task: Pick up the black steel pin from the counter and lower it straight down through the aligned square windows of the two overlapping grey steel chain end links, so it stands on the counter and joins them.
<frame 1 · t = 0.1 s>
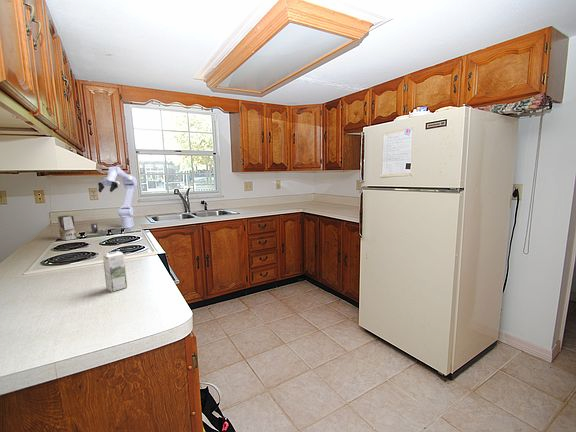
hand: (105, 191, 207), 32 cm above the worktop, tool tilted 50°, fingers open, 7 cm apart
coffee box: (68, 239, 202), on the worktop
upper end link: (112, 232, 222), on the worktop
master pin: (95, 232, 221), on the worktop
lower end link: (112, 232, 222), on the worktop
syrup box: (117, 288, 115), on the worktop
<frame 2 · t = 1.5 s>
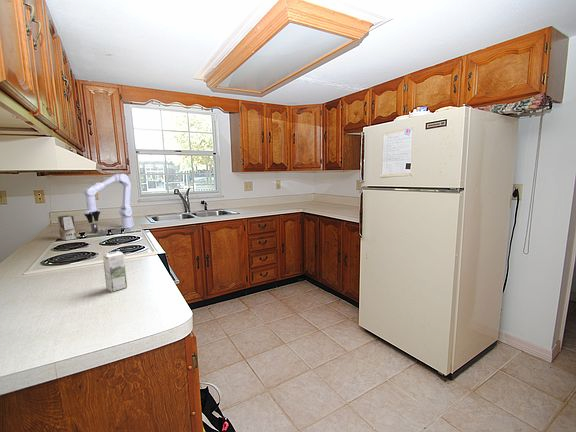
hand: (93, 221, 219), 8 cm above the worktop, tool pointing down, fingers open, 7 cm apart
nothing on the worktop moved.
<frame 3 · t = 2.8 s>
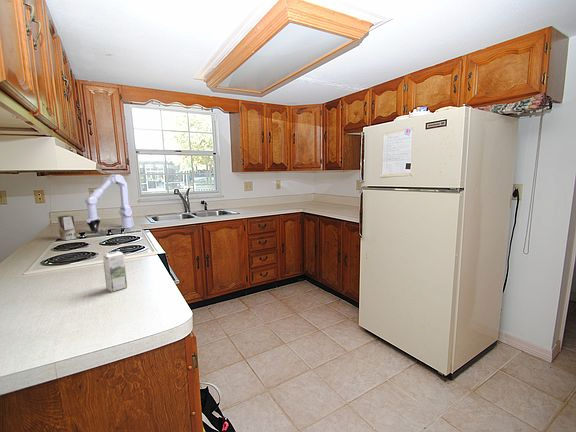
hand: (94, 230, 220), 2 cm above the worktop, tool pointing down, fingers closed on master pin, 4 cm apart
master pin: (95, 232, 221), on the worktop, touching gripper
everything else where it was.
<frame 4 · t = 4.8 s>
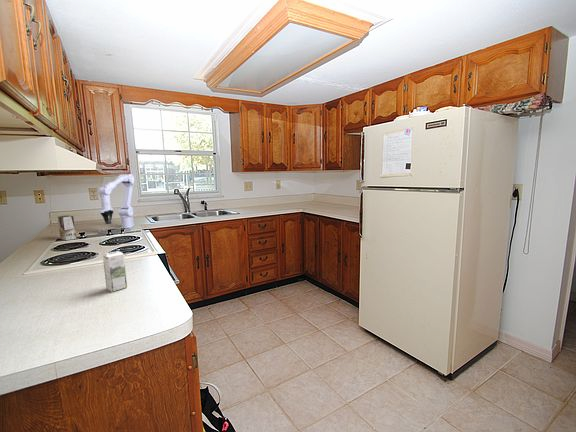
hand: (108, 220, 220), 9 cm above the worktop, tool pointing down, fingers closed on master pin, 4 cm apart
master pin: (108, 223, 221), point 7 cm above the worktop, touching gripper
everything else where it was.
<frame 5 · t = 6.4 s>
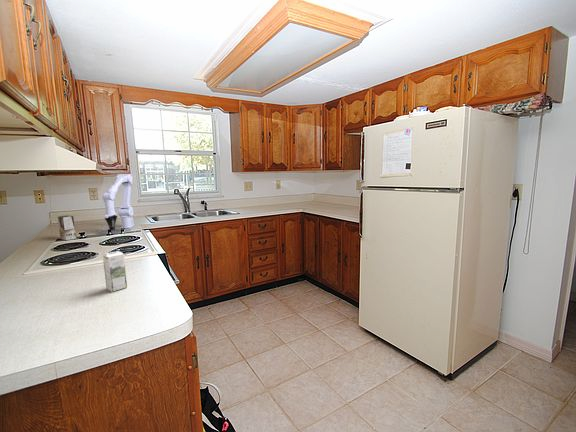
hand: (112, 225, 221), 5 cm above the worktop, tool pointing down, fingers closed on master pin, 4 cm apart
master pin: (112, 228, 221), point 3 cm above the worktop, touching gripper
everything else where it was.
when the fingers open (3 cm above the worktop, at t = 7.2 s): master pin drops 1 cm, resting in upper end link.
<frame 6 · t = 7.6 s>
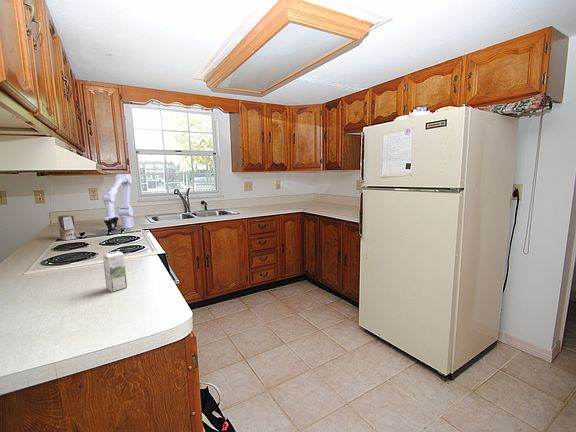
hand: (112, 228, 221), 3 cm above the worktop, tool pointing down, fingers open, 7 cm apart
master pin: (112, 232, 222), resting in upper end link
everything else where it was.
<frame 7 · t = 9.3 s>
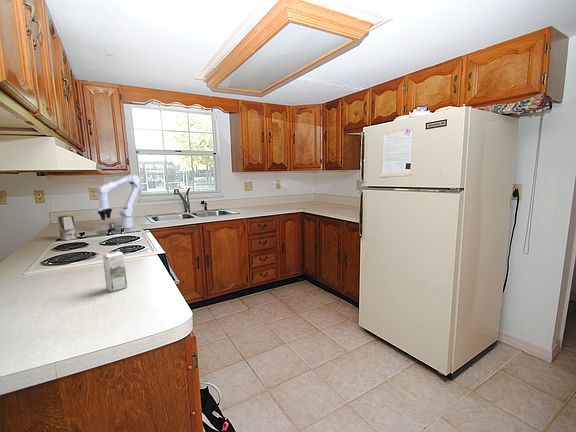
hand: (106, 219, 226), 9 cm above the worktop, tool pointing down, fingers open, 7 cm apart
nothing on the worktop moved.
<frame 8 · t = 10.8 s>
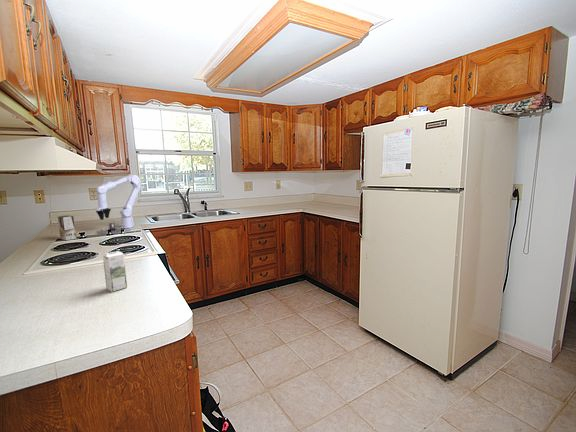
hand: (104, 218, 227), 9 cm above the worktop, tool pointing down, fingers open, 7 cm apart
nothing on the worktop moved.
at the end: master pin 0.1 cm from the target spot, resting in upper end link; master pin tilted 0°; the gripper is holding nothing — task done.
